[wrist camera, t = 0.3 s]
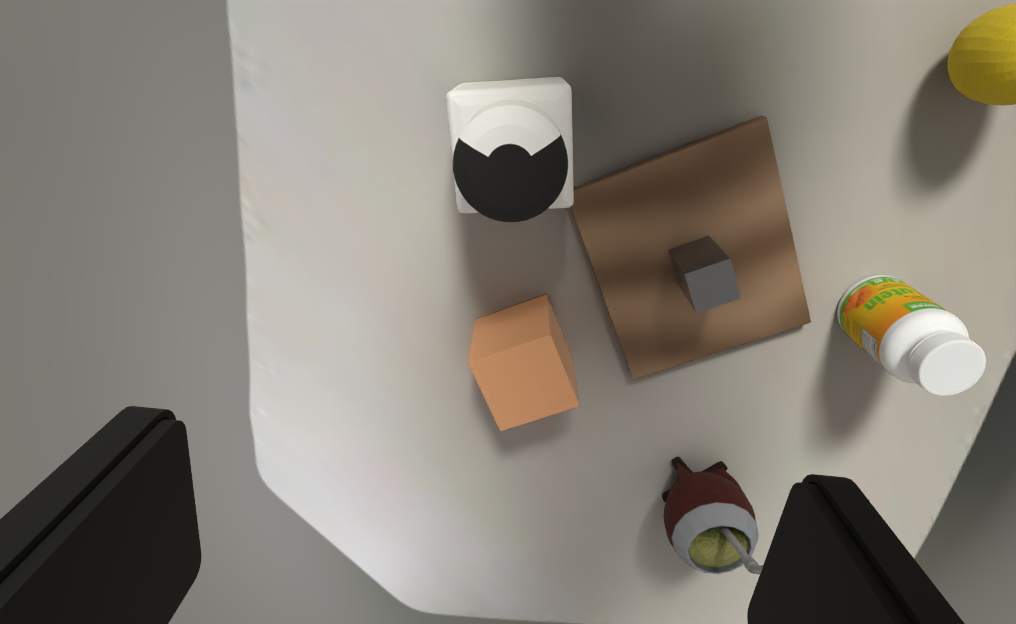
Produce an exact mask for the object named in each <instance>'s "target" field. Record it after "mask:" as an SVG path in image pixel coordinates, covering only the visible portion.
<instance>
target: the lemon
mask: <svg viewBox="0 0 1016 624" xmlns="http://www.w3.org/2000/svg"><path fill="white" fill-rule="evenodd" d="M947 69H948V73H949V77H950V80H951V82H952V83H953V85H954V86H955V88H956V89H957V90H958V91H959V92H960V93H962V94H963V95H964V96H966V97H967V98H969V99H972V100H975V101H977V102H980V103H984V104H990V105H1014V104H1016V3H1015V4H1009V5H1006V6H1003V7H1000V8H997V9H994V10H991V11H989V12H987V13H985V14H983V15H982V16H980V17H978V18H977V19H975V20H974V21H972V22H971V23H970V24H969V25H968V26H967V27H966V28H965V29H963V31H962V32H961V33H960V34H959V36H958V37H957V38H956V40H955V41H954V43H953V45H952V47H951V49H950V53H949V57H948V68H947Z"/></svg>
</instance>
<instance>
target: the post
mask: <svg viewBox="0 0 1016 624" xmlns="http://www.w3.org/2000/svg"><path fill="white" fill-rule="evenodd" d="M668 252H669V255H670V258H671V261H672V265H673V268H674V271H675V275H676V278H677V281H678V284H679V287H680V288H681V290H682V291H683V293H684V295H685V296H686V298H687V299H688V301H689V303H690V304H691V306H692V307H693V309H694V311H695V312H696V313H699V312H702V311H705V310H708V309H711V308H714V307H717V306H720V305H723V304H726V303H729V302H732V301H735V300H738V299H741V297H740V293H739V289H738V285H737V282H736V278H735V274H734V270H733V266H732V263H731V259H730V257H729V256H728V255H727V254H726V253H725V252H724V251H723V250H722V249H721V248H720V247H719V246H718V245H717V244H716V243H715V241H714V240H713V239H712V238H711V237H710V236H709V235H708V236H705V237H703V238H700V239H697V240H694V241H691V242H689V243H686V244H683V245H680V246H677V247H674V248H672V249H669V250H668Z"/></svg>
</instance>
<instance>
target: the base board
mask: <svg viewBox="0 0 1016 624" xmlns="http://www.w3.org/2000/svg"><path fill="white" fill-rule="evenodd" d="M573 193H574V202H573V205H572V206H571V209H572V212H573V215H574V217H575V220H576V223H577V226H578V228H579V231H580V234H581V237H582V239H583V242H584V245H585V248H586V250H587V253H588V256H589V259H590V262H591V264H592V267H593V270H594V273H595V275H596V278H597V281H598V284H599V286H600V289H601V292H602V295H603V297H604V300H605V303H606V306H607V308H608V311H609V314H610V317H611V319H612V322H613V325H614V328H615V331H616V333H617V336H618V339H619V342H620V344H621V347H622V350H623V353H624V355H625V358H626V361H627V364H628V366H629V369H630V372H631V375H632V377H633V379H636V378H639V377H642V376H645V375H648V374H651V373H654V372H658V371H661V370H664V369H667V368H670V367H673V366H676V365H679V364H682V363H686V362H689V361H692V360H695V359H698V358H701V357H704V356H707V355H711V354H714V353H717V352H720V351H723V350H726V349H729V348H732V347H735V346H739V345H742V344H745V343H748V342H751V341H754V340H757V339H760V338H764V337H767V336H770V335H773V334H776V333H779V332H782V331H785V330H788V329H792V328H795V327H798V326H801V325H804V324H807V323H810V322H811V320H810V315H809V311H808V306H807V302H806V297H805V292H804V288H803V283H802V279H801V274H800V269H799V265H798V260H797V256H796V251H795V246H794V242H793V237H792V233H791V228H790V223H789V219H788V214H787V210H786V205H785V200H784V196H783V191H782V187H781V182H780V177H779V173H778V168H777V164H776V159H775V154H774V150H773V145H772V140H771V136H770V131H769V127H768V122H767V118H766V117H762V116H760V117H757V118H755V119H752V120H750V121H747V122H744V123H742V124H739V125H737V126H734V127H731V128H729V129H726V130H724V131H721V132H718V133H716V134H713V135H711V136H708V137H705V138H703V139H700V140H698V141H695V142H692V143H690V144H687V145H685V146H682V147H679V148H677V149H674V150H671V151H669V152H666V153H664V154H661V155H658V156H656V157H653V158H651V159H648V160H645V161H643V162H640V163H638V164H635V165H632V166H630V167H627V168H625V169H622V170H619V171H617V172H614V173H612V174H609V175H606V176H604V177H601V178H599V179H596V180H593V181H591V182H588V183H585V184H583V185H580V186H578V187H575V188H573ZM708 235H709V236H710V237H711V238H712V239H713V240H714V241H715V243H716V244H717V245H718V246H719V247H720V248H721V249H722V250H723V251H724V252H725V253H726V254H727V255H728V256H729V257H730V259H731V263H732V266H733V270H734V274H735V278H736V282H737V285H738V289H739V293H740V297H741V299H738V300H735V301H732V302H729V303H726V304H723V305H720V306H717V307H714V308H711V309H708V310H705V311H702V312H699V313H696V312H695V311H694V309H693V307H692V306H691V304H690V303H689V301H688V299H687V298H686V296H685V295H684V293H683V291H682V290H681V288H680V287H679V284H678V281H677V278H676V275H675V271H674V268H673V265H672V261H671V258H670V255H669V252H668V250H669V249H672V248H674V247H677V246H680V245H683V244H686V243H689V242H691V241H694V240H697V239H700V238H703V237H705V236H708Z"/></svg>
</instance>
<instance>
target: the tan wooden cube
mask: <svg viewBox="0 0 1016 624" xmlns="http://www.w3.org/2000/svg"><path fill="white" fill-rule="evenodd" d="M468 365H469V367H470V369H471V371H472V373H473V375H474V377H475V379H476V382H477V384H478V386H479V388H480V390H481V392H482V394H483V396H484V398H485V400H486V402H487V404H488V406H489V409H490V411H491V413H492V415H493V417H494V419H495V421H496V423H497V425H498V427H499V429H500V431H503V430H506V429H509V428H513V427H516V426H519V425H522V424H525V423H528V422H531V421H535V420H538V419H541V418H544V417H547V416H550V415H553V414H557V413H560V412H563V411H566V410H569V409H572V408H575V407H579V406H580V405H579V398H578V392H577V385H576V378H575V372H574V365H573V359H572V356H571V353H570V351H569V348H568V346H567V343H566V341H565V338H564V336H563V333H562V331H561V329H560V326H559V324H558V321H557V319H556V316H555V314H554V311H553V309H552V306H551V304H550V301H549V299H548V296H547V294H546V295H543V296H540V297H537V298H534V299H532V300H529V301H526V302H523V303H520V304H517V305H515V306H512V307H509V308H506V309H503V310H501V311H498V312H495V313H492V314H489V315H486V316H484V317H481V318H478V319H475V323H474V328H473V334H472V340H471V346H470V352H469V357H468Z"/></svg>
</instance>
